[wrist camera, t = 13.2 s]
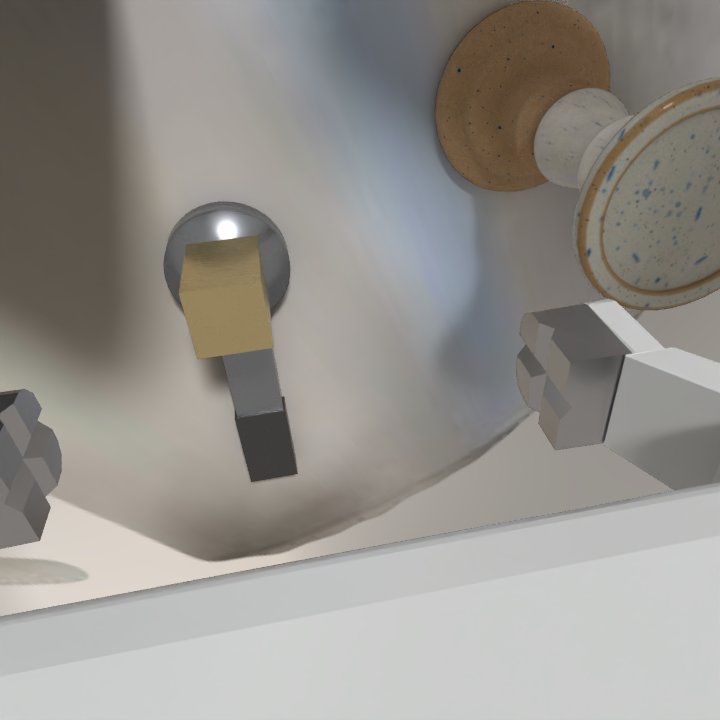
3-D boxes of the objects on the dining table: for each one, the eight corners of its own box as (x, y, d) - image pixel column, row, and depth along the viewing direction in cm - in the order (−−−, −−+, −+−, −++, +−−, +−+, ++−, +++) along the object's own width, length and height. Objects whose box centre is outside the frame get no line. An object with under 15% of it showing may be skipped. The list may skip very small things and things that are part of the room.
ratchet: (151, 210, 42) (143, 239, 38) (278, 193, 43) (283, 221, 39) (227, 470, 58) (226, 511, 54) (319, 454, 59) (325, 493, 55)
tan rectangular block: (257, 234, 42) (260, 281, 37) (268, 296, 45) (273, 347, 40) (186, 244, 42) (178, 293, 36) (202, 305, 45) (197, 359, 39)
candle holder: (599, -29, 38) (867, 4, 22) (604, 156, 46) (807, 281, 29) (416, 36, 39) (547, 114, 22) (450, 209, 46) (568, 361, 30)
